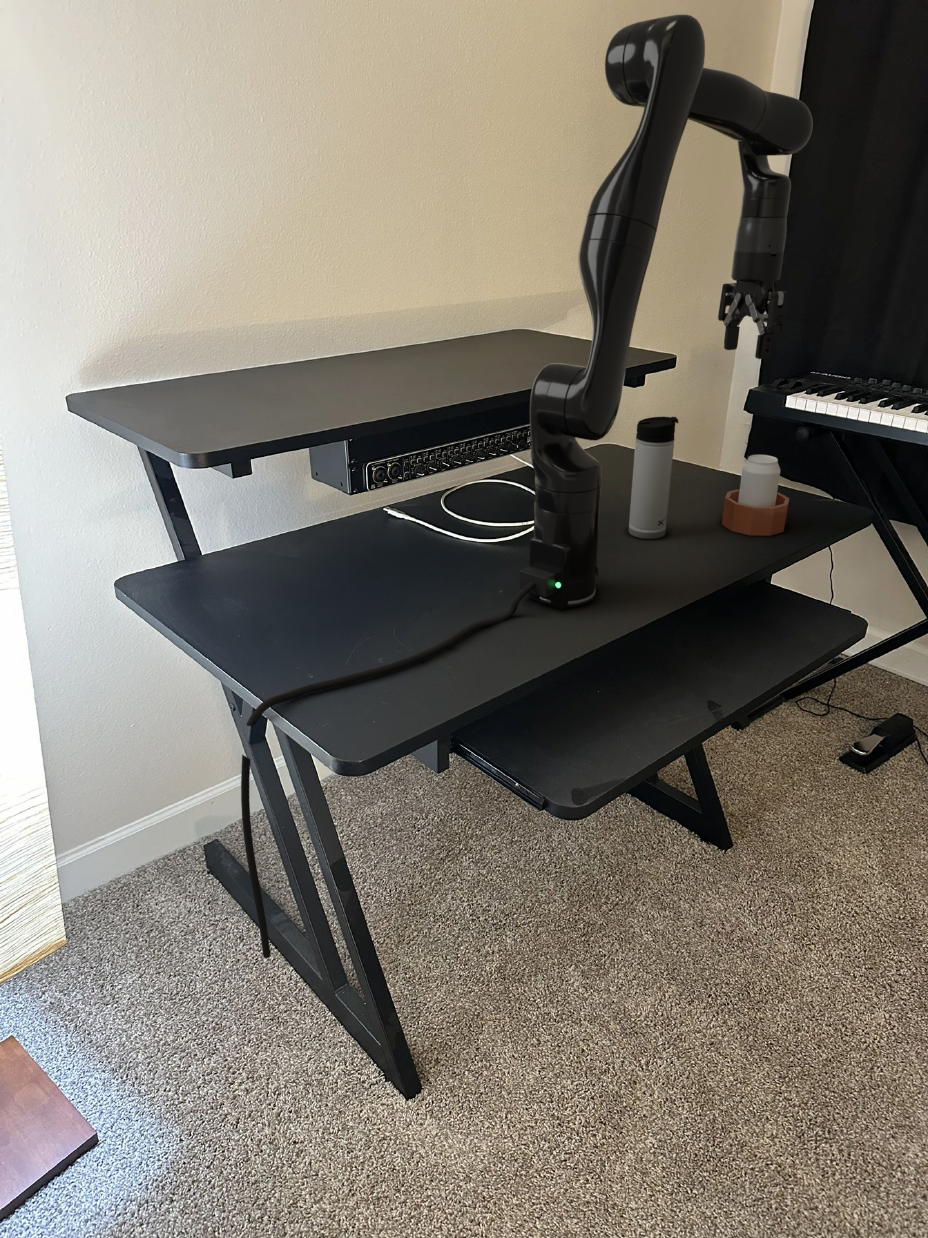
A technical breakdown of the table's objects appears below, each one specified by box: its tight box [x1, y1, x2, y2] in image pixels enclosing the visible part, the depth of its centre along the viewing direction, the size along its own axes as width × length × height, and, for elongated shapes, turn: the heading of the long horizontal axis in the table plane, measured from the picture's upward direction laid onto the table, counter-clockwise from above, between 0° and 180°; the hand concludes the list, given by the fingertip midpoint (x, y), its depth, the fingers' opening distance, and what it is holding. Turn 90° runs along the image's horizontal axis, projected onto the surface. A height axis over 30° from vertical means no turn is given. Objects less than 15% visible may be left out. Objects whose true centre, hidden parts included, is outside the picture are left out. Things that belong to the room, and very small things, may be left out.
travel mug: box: [628, 416, 679, 540], centre depth 151 cm, size 6×7×20 cm
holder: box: [721, 488, 790, 537], centre depth 157 cm, size 10×11×5 cm
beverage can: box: [738, 454, 781, 507], centre depth 155 cm, size 6×6×12 cm
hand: (745, 353), depth 148 cm, fingers open, 8 cm apart
